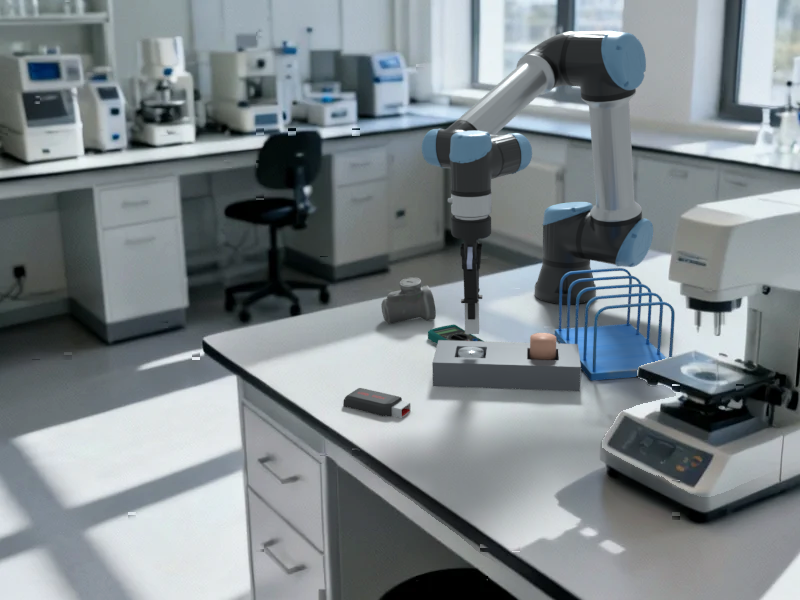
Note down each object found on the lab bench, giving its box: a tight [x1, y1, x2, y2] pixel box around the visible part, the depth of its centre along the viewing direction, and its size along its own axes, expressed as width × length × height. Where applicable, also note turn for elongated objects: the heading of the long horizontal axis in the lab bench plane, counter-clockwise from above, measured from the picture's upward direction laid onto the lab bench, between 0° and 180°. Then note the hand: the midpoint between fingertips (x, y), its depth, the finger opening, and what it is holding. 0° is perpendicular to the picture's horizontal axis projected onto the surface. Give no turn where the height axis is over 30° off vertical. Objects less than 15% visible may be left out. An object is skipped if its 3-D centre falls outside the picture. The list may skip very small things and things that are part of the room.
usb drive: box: [342, 387, 411, 419], centre depth 170 cm, size 5×12×3 cm, turn 58°
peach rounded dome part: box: [529, 332, 557, 360], centre depth 179 cm, size 5×5×4 cm
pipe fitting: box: [381, 276, 437, 325], centre depth 213 cm, size 12×8×10 cm
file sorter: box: [554, 267, 676, 382], centre depth 190 cm, size 25×17×15 cm
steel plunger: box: [458, 347, 484, 358], centre depth 182 cm, size 5×5×4 cm
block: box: [431, 340, 582, 392], centre depth 182 cm, size 28×12×5 cm, turn 82°
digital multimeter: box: [427, 324, 484, 345], centre depth 199 cm, size 7×15×3 cm, turn 28°
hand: (472, 332), depth 181 cm, fingers closed
